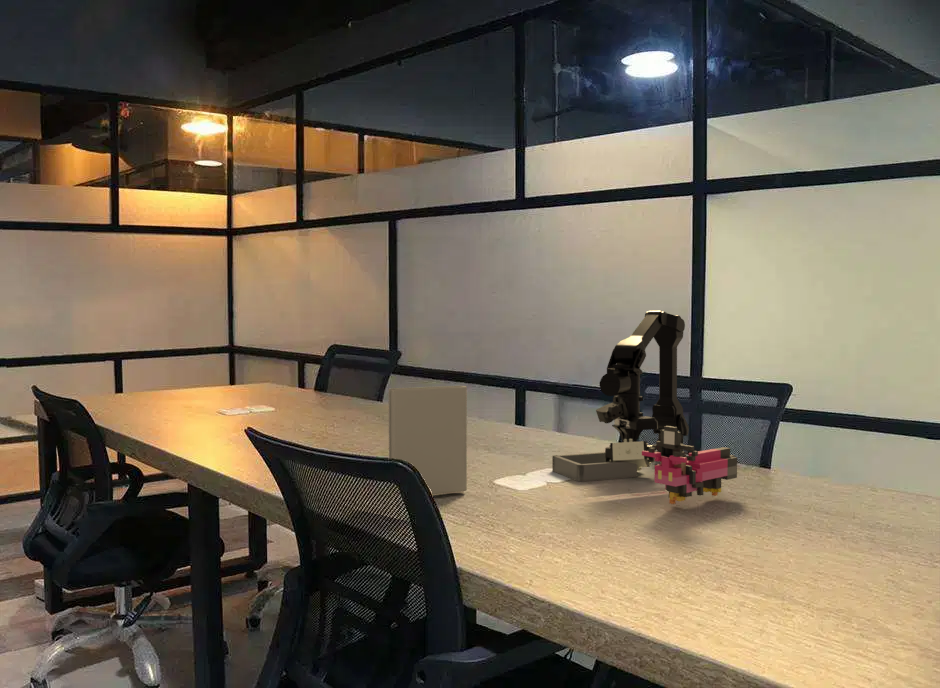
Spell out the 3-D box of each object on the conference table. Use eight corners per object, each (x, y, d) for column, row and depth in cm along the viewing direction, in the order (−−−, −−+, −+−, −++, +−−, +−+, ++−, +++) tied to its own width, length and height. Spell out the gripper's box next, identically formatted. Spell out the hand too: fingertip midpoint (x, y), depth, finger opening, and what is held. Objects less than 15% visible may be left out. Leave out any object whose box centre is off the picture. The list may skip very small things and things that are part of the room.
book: (394, 498, 185) (394, 390, 184) (388, 495, 189) (388, 388, 188) (469, 491, 193) (469, 386, 192) (462, 487, 197) (462, 385, 196)
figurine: (641, 502, 182) (642, 425, 182) (710, 486, 198) (711, 416, 197) (683, 511, 174) (684, 431, 173) (752, 495, 189) (753, 421, 189)
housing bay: (607, 466, 223) (607, 451, 223) (637, 476, 209) (637, 461, 209) (552, 471, 217) (552, 455, 217) (579, 481, 204) (579, 465, 203)
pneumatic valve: (657, 472, 214) (652, 457, 204) (611, 474, 218) (603, 459, 208) (656, 451, 217) (651, 435, 207) (611, 454, 220) (603, 438, 210)
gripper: (583, 390, 222) (583, 449, 223) (620, 397, 204) (619, 461, 205) (619, 388, 226) (619, 446, 227) (659, 395, 208) (658, 458, 209)
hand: (628, 452), depth 217 cm, fingers closed
